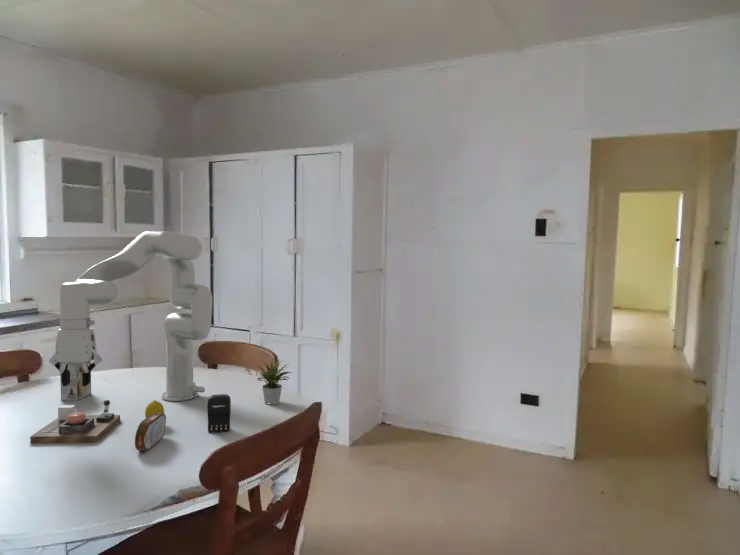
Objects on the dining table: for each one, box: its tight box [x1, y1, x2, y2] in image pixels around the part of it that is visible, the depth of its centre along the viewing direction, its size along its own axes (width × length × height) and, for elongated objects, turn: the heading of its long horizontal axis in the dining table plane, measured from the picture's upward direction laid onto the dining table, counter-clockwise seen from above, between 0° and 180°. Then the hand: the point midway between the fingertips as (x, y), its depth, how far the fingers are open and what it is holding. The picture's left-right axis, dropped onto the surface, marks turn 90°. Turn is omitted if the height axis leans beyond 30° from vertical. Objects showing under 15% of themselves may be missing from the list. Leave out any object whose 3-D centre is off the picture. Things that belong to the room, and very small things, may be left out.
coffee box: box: [59, 360, 92, 402], centre depth 191 cm, size 9×6×16 cm
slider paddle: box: [57, 404, 76, 420], centre depth 163 cm, size 4×2×4 cm, turn 96°
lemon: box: [144, 400, 165, 419], centre depth 165 cm, size 6×6×8 cm
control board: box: [29, 412, 121, 444], centre depth 158 cm, size 18×18×4 cm
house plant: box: [256, 358, 293, 404], centre depth 189 cm, size 14×14×16 cm
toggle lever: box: [103, 399, 111, 413], centre depth 165 cm, size 2×2×4 cm
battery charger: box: [206, 393, 232, 433], centre depth 161 cm, size 7×4×11 cm, turn 103°
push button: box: [68, 411, 87, 424], centre depth 155 cm, size 5×5×2 cm
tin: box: [134, 412, 167, 452], centre depth 150 cm, size 15×3×8 cm, turn 178°
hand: (76, 384), depth 155 cm, fingers open, 4 cm apart
